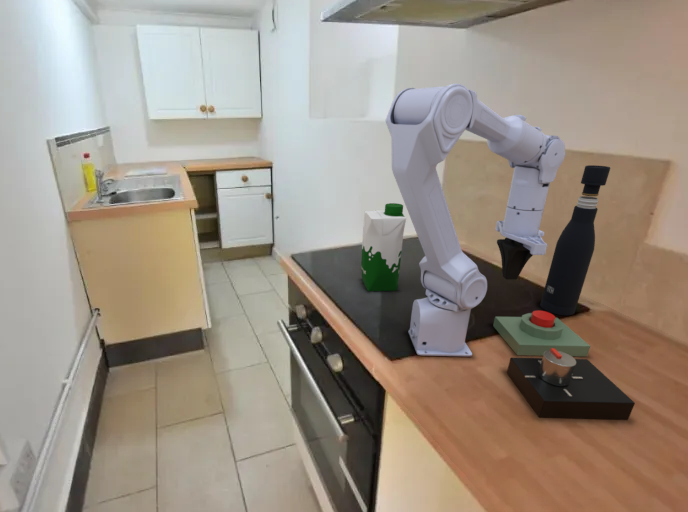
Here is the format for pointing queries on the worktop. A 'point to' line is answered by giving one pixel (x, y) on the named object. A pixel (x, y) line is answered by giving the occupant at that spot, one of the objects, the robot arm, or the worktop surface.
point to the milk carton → (382, 247)
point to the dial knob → (557, 367)
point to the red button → (542, 319)
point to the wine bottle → (574, 248)
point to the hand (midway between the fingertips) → (509, 278)
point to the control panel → (570, 392)
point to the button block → (539, 337)
